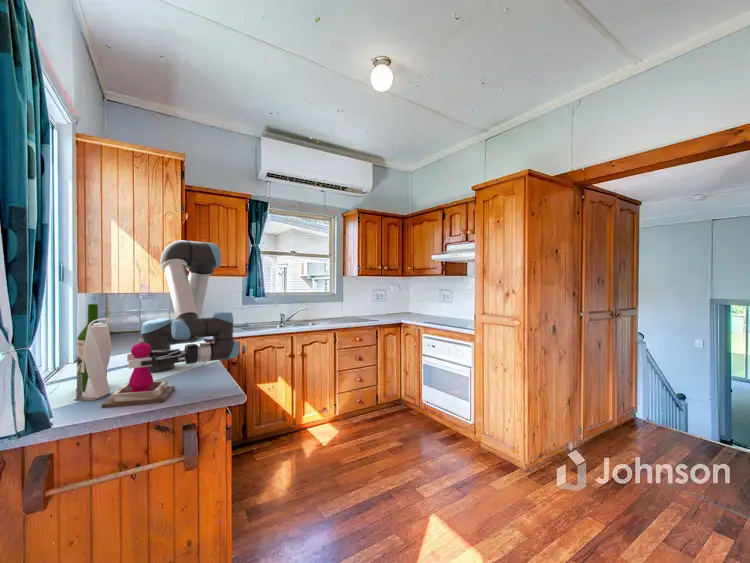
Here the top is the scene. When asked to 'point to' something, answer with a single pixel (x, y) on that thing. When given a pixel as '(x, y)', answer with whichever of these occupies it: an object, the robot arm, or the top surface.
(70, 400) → the top surface
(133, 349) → the pepper mill
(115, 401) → the stand
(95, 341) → the skyscraper
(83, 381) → the wine bottle
